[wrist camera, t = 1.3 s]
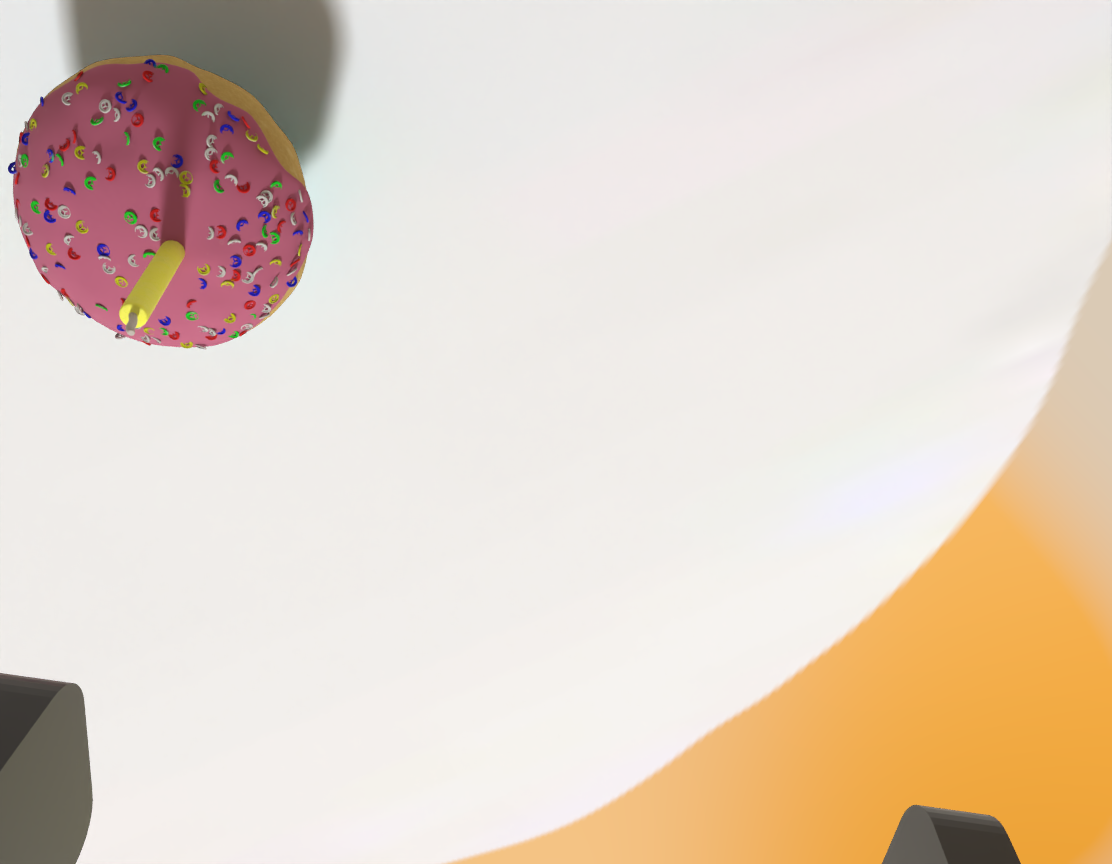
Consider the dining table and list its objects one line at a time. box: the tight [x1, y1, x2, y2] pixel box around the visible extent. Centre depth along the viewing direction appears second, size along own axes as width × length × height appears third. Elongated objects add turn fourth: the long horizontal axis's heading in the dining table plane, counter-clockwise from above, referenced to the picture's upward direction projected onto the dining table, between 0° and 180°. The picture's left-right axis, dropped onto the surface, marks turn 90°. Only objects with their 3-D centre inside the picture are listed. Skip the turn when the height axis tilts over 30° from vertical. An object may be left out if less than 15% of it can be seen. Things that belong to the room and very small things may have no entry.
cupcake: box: [8, 55, 313, 350], centre depth 28 cm, size 9×8×12 cm
